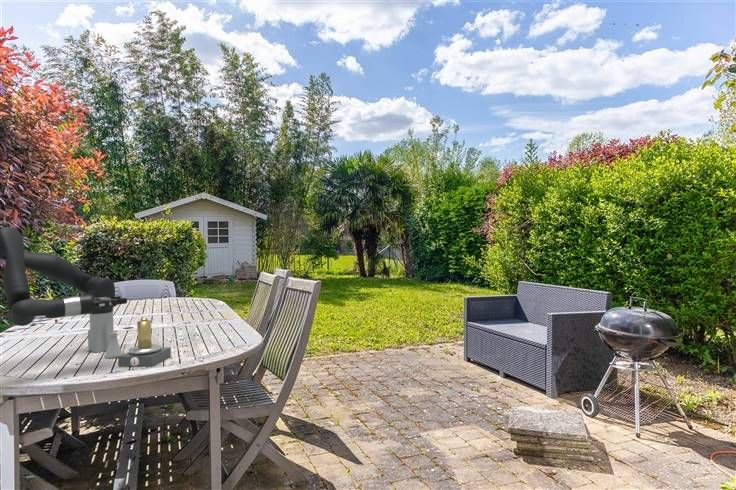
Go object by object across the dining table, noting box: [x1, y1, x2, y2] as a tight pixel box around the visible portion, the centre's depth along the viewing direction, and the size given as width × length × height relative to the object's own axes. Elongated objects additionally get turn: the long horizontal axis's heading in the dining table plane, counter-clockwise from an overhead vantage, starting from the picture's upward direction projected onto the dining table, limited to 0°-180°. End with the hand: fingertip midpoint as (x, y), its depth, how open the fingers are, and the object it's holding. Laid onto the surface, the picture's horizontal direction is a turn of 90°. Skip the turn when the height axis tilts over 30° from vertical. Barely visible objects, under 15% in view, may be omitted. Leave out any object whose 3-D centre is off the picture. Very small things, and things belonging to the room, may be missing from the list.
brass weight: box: [137, 317, 153, 349], centre depth 176 cm, size 5×5×12 cm
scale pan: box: [128, 343, 162, 354], centre depth 176 cm, size 12×12×1 cm
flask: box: [104, 332, 124, 359], centre depth 185 cm, size 7×7×10 cm
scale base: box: [117, 346, 172, 368], centre depth 176 cm, size 14×14×4 cm
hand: (123, 299), depth 178 cm, fingers open, 8 cm apart
